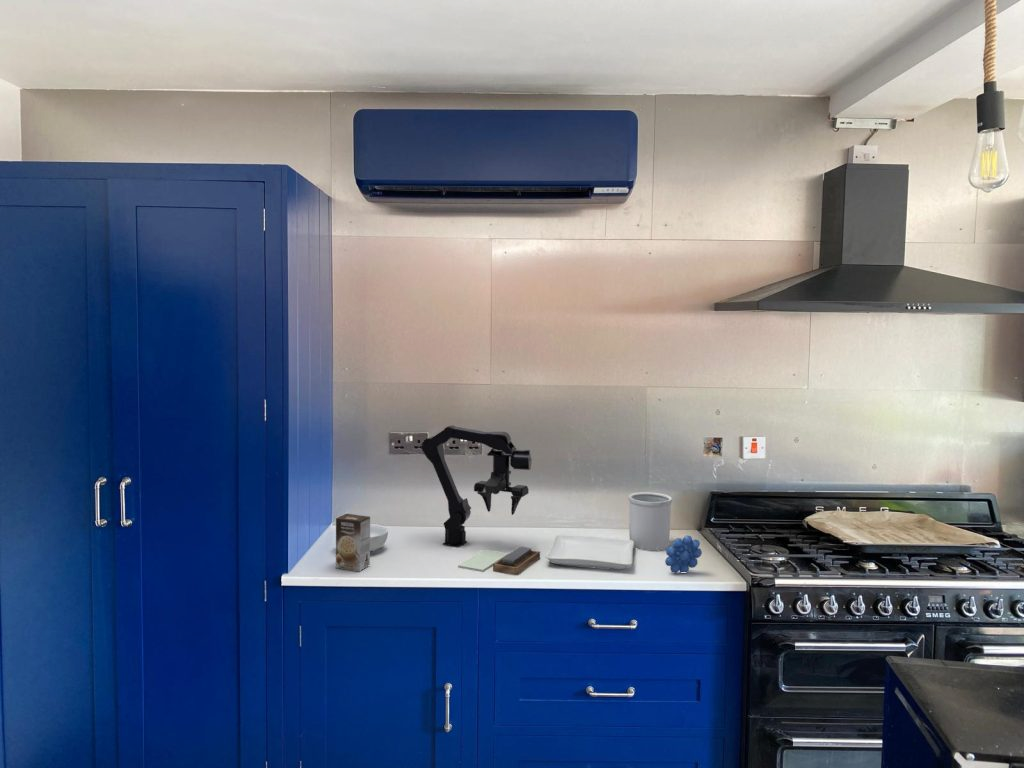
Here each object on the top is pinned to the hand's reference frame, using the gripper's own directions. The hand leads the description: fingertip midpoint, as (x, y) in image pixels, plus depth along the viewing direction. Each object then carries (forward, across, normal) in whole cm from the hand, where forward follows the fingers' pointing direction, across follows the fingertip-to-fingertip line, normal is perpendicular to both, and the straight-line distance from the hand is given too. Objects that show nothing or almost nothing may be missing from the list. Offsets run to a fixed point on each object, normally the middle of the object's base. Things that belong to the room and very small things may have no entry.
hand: (500, 513), depth 231 cm
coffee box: (+12, -32, -40) cm, 53 cm away
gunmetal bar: (+11, +13, -14) cm, 22 cm away
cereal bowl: (+12, -40, -25) cm, 49 cm away
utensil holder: (+12, +46, +26) cm, 54 cm away
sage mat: (+12, +2, -16) cm, 20 cm away
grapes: (+12, +62, +3) cm, 63 cm away
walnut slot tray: (+12, +13, -14) cm, 23 cm away
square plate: (+13, +32, +4) cm, 35 cm away
